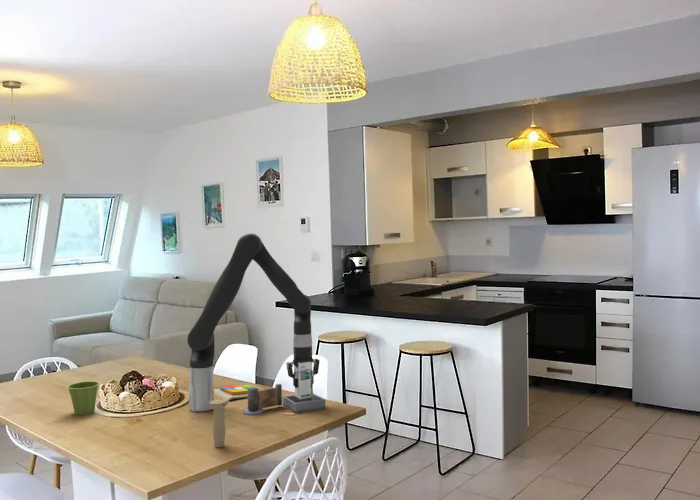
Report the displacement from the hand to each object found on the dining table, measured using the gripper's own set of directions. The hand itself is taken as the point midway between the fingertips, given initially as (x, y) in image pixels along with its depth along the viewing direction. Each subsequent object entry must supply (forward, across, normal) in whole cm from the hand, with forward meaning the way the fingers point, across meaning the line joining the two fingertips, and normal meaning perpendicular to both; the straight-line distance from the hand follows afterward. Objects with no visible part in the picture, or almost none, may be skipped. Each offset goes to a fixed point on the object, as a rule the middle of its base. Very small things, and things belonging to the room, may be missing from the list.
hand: (303, 386), depth 247 cm
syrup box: (+5, 0, 0) cm, 5 cm away
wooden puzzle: (+9, +16, -33) cm, 38 cm away
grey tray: (+8, 0, 0) cm, 8 cm away
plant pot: (+8, +78, -38) cm, 87 cm away
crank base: (+8, +16, 0) cm, 18 cm away
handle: (+9, +43, +27) cm, 51 cm away
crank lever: (+7, +15, -4) cm, 17 cm away
